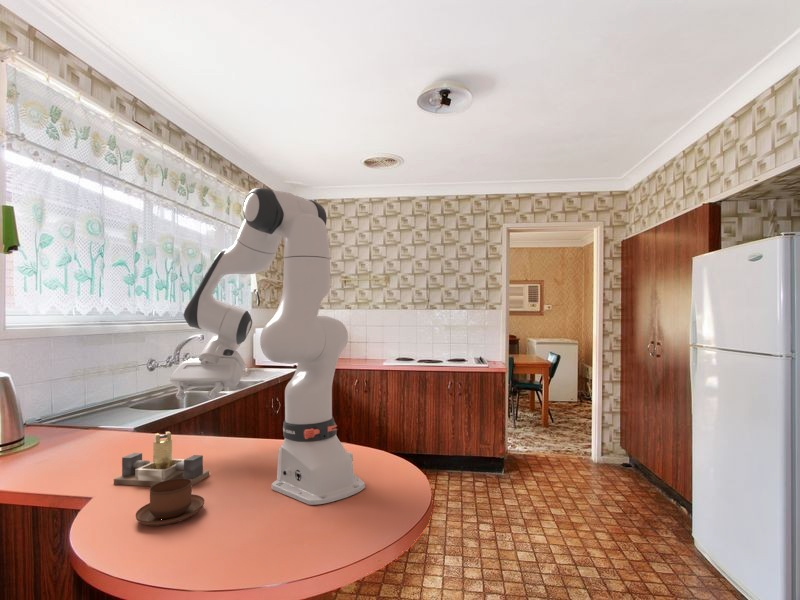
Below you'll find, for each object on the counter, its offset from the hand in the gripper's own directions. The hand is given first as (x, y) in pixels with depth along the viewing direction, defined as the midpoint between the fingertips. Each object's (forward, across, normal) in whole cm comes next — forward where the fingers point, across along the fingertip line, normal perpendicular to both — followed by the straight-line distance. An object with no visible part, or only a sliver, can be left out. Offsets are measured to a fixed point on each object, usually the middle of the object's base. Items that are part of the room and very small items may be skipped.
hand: (194, 398), depth 115 cm
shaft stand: (+21, 0, +4) cm, 21 cm away
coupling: (+20, 0, +3) cm, 20 cm away
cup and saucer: (+33, +16, -8) cm, 38 cm away
